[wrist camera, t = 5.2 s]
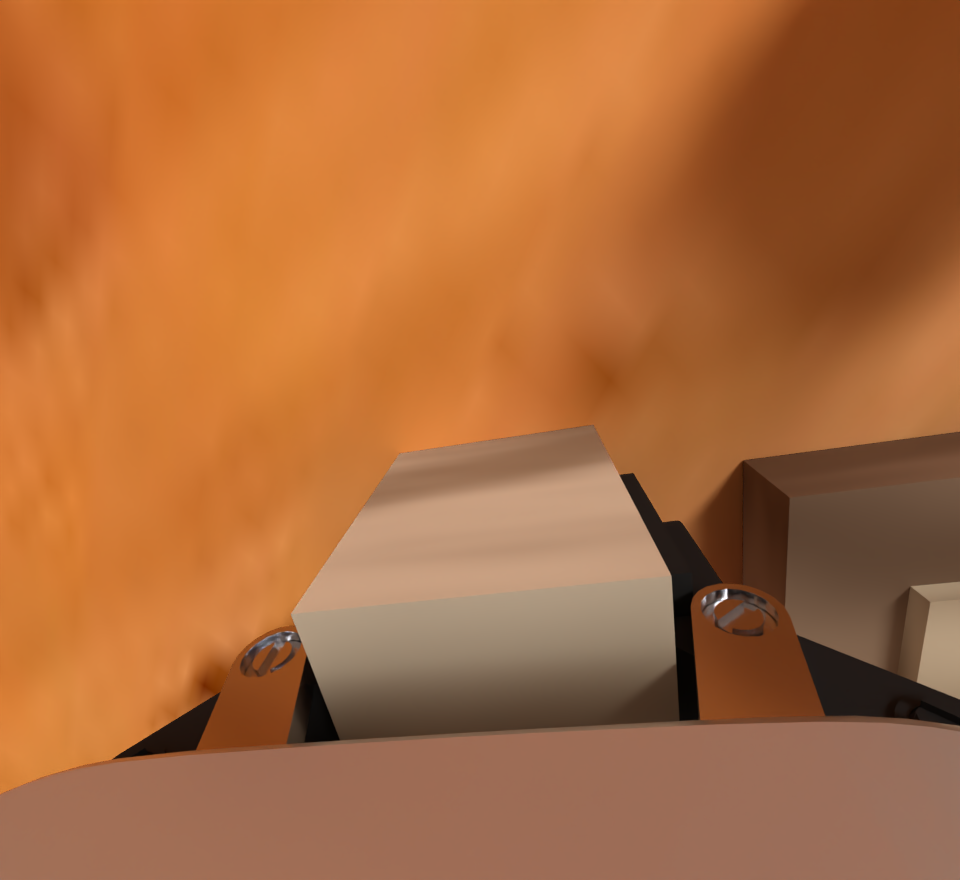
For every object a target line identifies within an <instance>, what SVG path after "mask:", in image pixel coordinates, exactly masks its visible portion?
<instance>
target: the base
mask: <svg viewBox="0 0 960 880" xmlns="http://www.w3.org/2000/svg"><path fill="white" fill-rule="evenodd" d="M743 585H746V586H750V587H753V588H756V589H759V590H761V591H763V592H765V593H767V594H769V595H771V596H772V597H774V598H775V599H776V600H778V601H779V602H780V603H781V604H782V605H783V606H784V607H785V609H786V610H787V612H788V614H789V615H790V618H791V620H792V623H793V626H794V629H795V632H796V635H799V636H801V637H804V638H806V639H809V640H811V641H814V642H816V643H819V644H821V645H824V646H827V647H829V648H832V649H834V650H837V651H839V652H842V653H844V654H847V655H849V656H852V657H854V658H857V659H859V660H862V661H864V662H867V663H869V664H872V665H874V666H877V667H879V668H882V669H884V670H887V671H890V672H892V673H895V674H897V675H900V676H902V677H905V678H907V679H910V680H912V681H915V682H917V683H920V684H922V685H925V686H927V687H930V688H932V689H935V690H937V691H940V692H942V693H945V694H948V695H950V696H953V697H955V698H958V699H960V432H956V433H948V434H940V435H933V436H925V437H918V438H910V439H902V440H895V441H887V442H880V443H872V444H865V445H857V446H849V447H842V448H834V449H827V450H819V451H811V452H804V453H796V454H789V455H781V456H774V457H766V458H758V459H751V460H744V464H743Z"/></svg>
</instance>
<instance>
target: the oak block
mask: <svg viewBox="0 0 960 880" xmlns="http://www.w3.org/2000/svg"><path fill="white" fill-rule="evenodd" d="M291 616H292V619H293V621H294V624H295V626H296V629H297V631H298V634H299V636H300V639H301V642H302V644H303V647H304V649H305V652H306V654H307V657H308V659H309V662H310V665H311V667H312V670H313V672H314V675H315V677H316V680H317V682H318V685H319V687H320V690H321V693H322V695H323V698H324V700H325V703H326V705H327V708H328V710H329V713H330V716H331V718H332V721H333V723H334V726H335V728H336V731H337V733H338V736H339V739H340V741H341V740H356V739H372V738H388V737H405V736H421V735H437V734H454V733H471V732H488V731H505V730H522V729H539V728H558V727H577V726H596V725H614V724H633V723H652V722H671V721H679V703H678V685H677V667H676V648H675V630H674V612H673V593H672V576H671V574H670V572H669V570H668V568H667V566H666V564H665V562H664V560H663V558H662V556H661V555H660V553H659V551H658V549H657V547H656V545H655V543H654V541H653V539H652V537H651V535H650V533H649V531H648V529H647V528H646V526H645V524H644V522H643V520H642V518H641V516H640V514H639V512H638V510H637V508H636V506H635V504H634V503H633V501H632V499H631V497H630V495H629V493H628V491H627V489H626V487H625V485H624V483H623V481H622V479H621V477H620V476H619V474H618V472H617V470H616V468H615V466H614V464H613V462H612V460H611V458H610V456H609V454H608V452H607V450H606V449H605V447H604V445H603V443H602V441H601V439H600V437H599V435H598V433H597V431H596V429H595V427H594V425H590V426H583V427H576V428H569V429H562V430H556V431H549V432H542V433H535V434H529V435H522V436H515V437H508V438H501V439H495V440H488V441H481V442H474V443H468V444H461V445H454V446H447V447H441V448H434V449H427V450H420V451H413V452H407V453H400V454H399V455H398V457H397V458H396V460H395V461H394V463H393V464H392V466H391V467H390V469H389V470H388V472H387V473H386V474H385V476H384V477H383V479H382V480H381V482H380V483H379V485H378V486H377V488H376V489H375V491H374V492H373V494H372V495H371V497H370V498H369V500H368V501H367V502H366V504H365V505H364V507H363V508H362V510H361V511H360V513H359V514H358V516H357V517H356V519H355V520H354V522H353V523H352V525H351V526H350V528H349V529H348V530H347V532H346V533H345V535H344V536H343V538H342V539H341V541H340V542H339V544H338V545H337V547H336V548H335V550H334V551H333V553H332V554H331V556H330V557H329V558H328V560H327V561H326V563H325V564H324V566H323V567H322V569H321V570H320V572H319V573H318V575H317V576H316V578H315V579H314V581H313V582H312V584H311V585H310V586H309V588H308V589H307V591H306V592H305V594H304V595H303V597H302V598H301V600H300V601H299V603H298V604H297V606H296V607H295V609H294V610H293V612H292V613H291Z"/></svg>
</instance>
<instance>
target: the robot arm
mask: <svg viewBox="0 0 960 880" xmlns="http://www.w3.org/2000/svg"><path fill="white" fill-rule="evenodd" d="M619 476H620V477H621V479H622V481H623V483H624V485H625V487H626V489H627V491H628V493H629V495H630V497H631V499H632V501H633V503H634V504H635V506H636V508H637V510H638V512H639V514H640V516H641V518H642V520H643V522H644V524H645V526H646V528H647V529H648V531H649V533H650V535H651V537H652V539H653V541H654V543H655V545H656V547H657V549H658V551H659V553H660V555H661V556H662V558H663V560H664V562H665V564H666V566H667V568H668V570H669V572H670V574H671V576H672V593H673V612H674V630H675V648H676V667H677V685H678V703H679V721H671V722H652V723H633V724H614V725H596V726H577V727H558V728H539V729H522V730H505V731H488V732H471V733H454V734H437V735H421V736H405V737H388V738H372V739H356V740H341V741H340V739H339V736H338V733H337V731H336V728H335V726H334V723H333V721H332V718H331V716H330V713H329V710H328V708H327V705H326V703H325V700H324V698H323V695H322V693H321V690H320V687H319V685H318V682H317V680H316V677H315V675H314V672H313V670H312V667H311V665H310V662H309V659H308V657H307V654H306V652H305V649H304V647H303V644H302V642H301V639H300V636H299V634H298V631H297V629H296V626H286V627H280V628H277V629H275V630H272V631H269V632H267V633H265V634H264V635H262V636H260V637H258V638H257V639H255V640H254V641H253V642H251V643H250V644H249V645H247V646H246V647H245V648H244V649H243V650H242V651H241V653H240V654H239V655H238V656H237V658H236V659H235V661H234V663H233V664H232V667H231V669H230V671H229V674H228V676H227V679H226V681H225V683H224V686H223V688H222V690H221V692H220V693H218V694H217V695H215V696H213V697H212V698H210V699H208V700H207V701H205V702H204V703H202V704H200V705H199V706H197V707H195V708H194V709H192V710H191V711H189V712H187V713H186V714H184V715H182V716H181V717H179V718H178V719H176V720H174V721H173V722H171V723H169V724H168V725H166V726H165V727H163V728H161V729H160V730H158V731H156V732H155V733H153V734H151V735H150V736H148V737H147V738H145V739H143V740H142V741H140V742H138V743H137V744H135V745H134V746H132V747H130V748H129V749H127V750H126V751H124V752H122V753H121V754H119V755H118V756H116V757H115V758H113V759H112V760H108V761H103V762H97V763H92V764H87V765H83V766H79V767H76V768H72V769H69V770H65V771H62V772H58V773H55V774H51V775H48V776H45V777H41V778H39V779H36V780H34V781H31V782H29V783H26V784H24V785H21V786H19V787H16V788H14V789H11V790H9V791H6V792H4V793H2V794H0V880H960V699H958V698H955V697H953V696H950V695H948V694H945V693H942V692H940V691H937V690H935V689H932V688H930V687H927V686H925V685H922V684H920V683H917V682H915V681H912V680H910V679H907V678H905V677H902V676H900V675H897V674H895V673H892V672H890V671H887V670H884V669H882V668H879V667H877V666H874V665H872V664H869V663H867V662H864V661H862V660H859V659H857V658H854V657H852V656H849V655H847V654H844V653H842V652H839V651H837V650H834V649H832V648H829V647H827V646H824V645H821V644H819V643H816V642H814V641H811V640H809V639H806V638H804V637H801V636H799V635H796V632H795V629H794V626H793V623H792V620H791V618H790V615H789V614H788V612H787V610H786V609H785V607H784V606H783V605H782V604H781V603H780V602H779V601H778V600H776V599H775V598H774V597H772V596H771V595H769V594H767V593H765V592H763V591H761V590H759V589H756V588H753V587H750V586H746V585H740V584H733V583H728V584H723V583H722V582H721V580H720V579H719V577H718V576H717V574H716V573H715V571H714V570H713V568H712V567H711V565H710V564H709V562H708V561H707V559H706V558H705V556H704V555H703V553H702V552H701V550H700V549H699V547H698V546H697V544H696V543H695V542H694V540H693V539H692V537H691V536H690V534H689V533H688V531H687V530H686V528H685V527H684V525H683V524H682V523H681V522H680V521H670V522H662V521H661V519H660V517H659V516H658V514H657V512H656V511H655V509H654V507H653V506H652V504H651V502H650V500H649V499H648V497H647V495H646V494H645V492H644V490H643V489H642V487H641V485H640V484H639V482H638V480H637V479H636V477H635V475H634V474H633V473H630V474H623V475H619Z"/></svg>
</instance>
